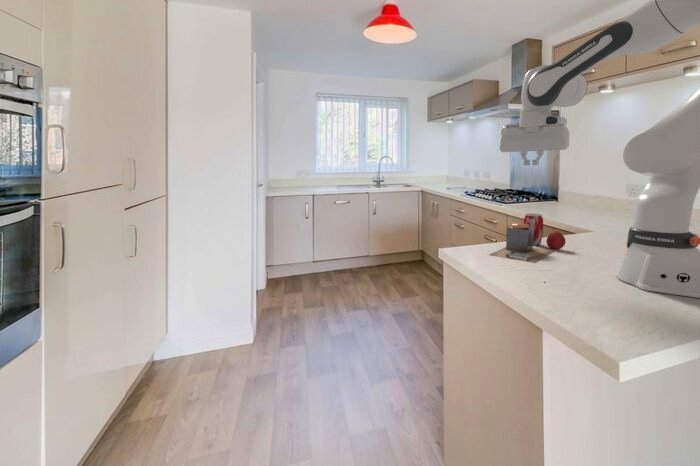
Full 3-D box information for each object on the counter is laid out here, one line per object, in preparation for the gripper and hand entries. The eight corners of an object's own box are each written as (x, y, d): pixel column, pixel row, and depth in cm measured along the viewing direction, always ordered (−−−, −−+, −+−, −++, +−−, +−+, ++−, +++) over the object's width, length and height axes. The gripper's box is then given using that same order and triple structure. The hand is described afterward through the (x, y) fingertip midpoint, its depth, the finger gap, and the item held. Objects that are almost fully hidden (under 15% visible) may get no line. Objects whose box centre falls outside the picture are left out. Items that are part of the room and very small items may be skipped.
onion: (547, 252, 123) (550, 230, 122) (544, 249, 129) (546, 227, 127) (566, 253, 121) (568, 231, 120) (561, 249, 127) (563, 228, 125)
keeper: (531, 257, 113) (532, 254, 113) (526, 260, 110) (526, 257, 110) (511, 253, 118) (511, 250, 118) (505, 256, 115) (505, 253, 114)
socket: (532, 249, 124) (534, 227, 122) (526, 252, 120) (528, 230, 118) (511, 246, 129) (513, 225, 127) (505, 249, 125) (507, 227, 123)
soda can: (544, 246, 133) (547, 215, 130) (526, 246, 133) (528, 215, 130) (535, 242, 140) (538, 213, 137) (517, 242, 140) (520, 213, 137)
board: (554, 253, 121) (554, 251, 121) (535, 266, 107) (535, 262, 107) (510, 247, 132) (510, 244, 131) (488, 257, 118) (488, 254, 118)
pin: (529, 248, 124) (531, 224, 123) (523, 251, 120) (525, 226, 119) (512, 246, 128) (514, 222, 127) (506, 249, 124) (508, 224, 123)
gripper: (498, 124, 116) (495, 165, 119) (567, 117, 102) (562, 165, 104) (505, 125, 120) (502, 165, 123) (573, 119, 106) (568, 164, 109)
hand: (530, 165), depth 114 cm, fingers closed
